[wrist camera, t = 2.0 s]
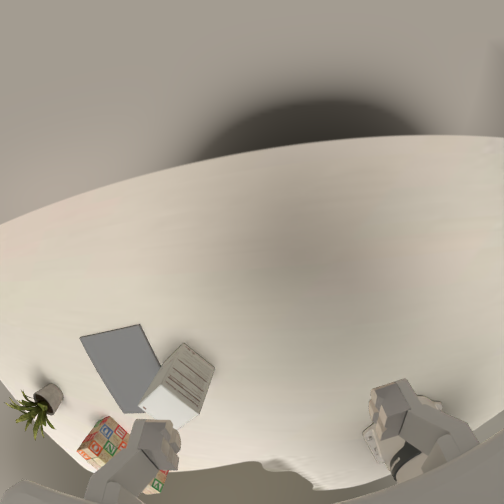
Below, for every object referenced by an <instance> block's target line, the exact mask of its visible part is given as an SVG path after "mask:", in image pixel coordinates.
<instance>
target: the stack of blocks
mask: <svg viewBox="0 0 504 504" xmlns="http://www.w3.org/2000/svg"><path fill="white" fill-rule="evenodd" d="M129 437H130V435H129V434H128V433H127V432H126V431H125V430H124V429H123V428H122V427H121V426H120V425H119V424H118V423H117V422H116V421H115V420H114V419H112V418H111V417H110V416H109V417H106V418H104V419H102V420H100V421H98V422H97V423H96V425H95V426H94V428H93V429H92V430H91V432H90V433H89V434H88V436H87V437H86V438H85V440H84V441H83V442H82V444H81V445H80V447H79V448H78V450H77V452H78V453H79V454H80V455H81V456H82V457H84V458H85V459H86V461H87V462H88V463H90V464H91V465H92V466H93V467H94V468H96V469H97V470H99V469H100V468H101V467H102V466H104V465H105V464H106V463H107V462H108V461H109V460H110V459H112V458H113V457H114V456H115V455H116V454H117V453H118V452H120V451H121V450H122V449H123V448H127V444H128V441H129ZM168 471H169V470H159V472H158V473H157V474H156V476H155V477H154V478H153V479H152V480H151V482H150V483H149V484H148V485H147V487H146V488H145V489H144V490H143V491H142V492H143V493H145V494H153V493H160V492H161V490H162V488H163V485H164V481H165V479H166V477H167V473H168Z"/></svg>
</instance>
